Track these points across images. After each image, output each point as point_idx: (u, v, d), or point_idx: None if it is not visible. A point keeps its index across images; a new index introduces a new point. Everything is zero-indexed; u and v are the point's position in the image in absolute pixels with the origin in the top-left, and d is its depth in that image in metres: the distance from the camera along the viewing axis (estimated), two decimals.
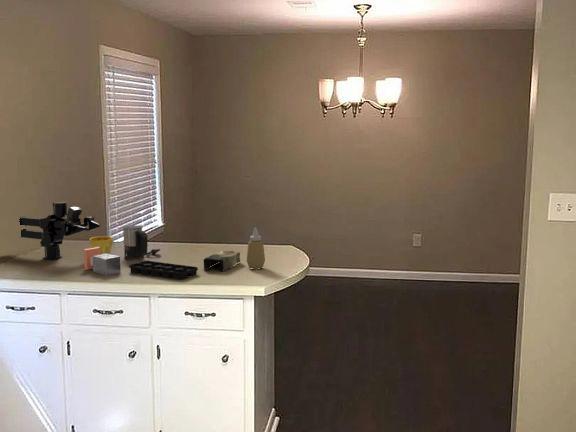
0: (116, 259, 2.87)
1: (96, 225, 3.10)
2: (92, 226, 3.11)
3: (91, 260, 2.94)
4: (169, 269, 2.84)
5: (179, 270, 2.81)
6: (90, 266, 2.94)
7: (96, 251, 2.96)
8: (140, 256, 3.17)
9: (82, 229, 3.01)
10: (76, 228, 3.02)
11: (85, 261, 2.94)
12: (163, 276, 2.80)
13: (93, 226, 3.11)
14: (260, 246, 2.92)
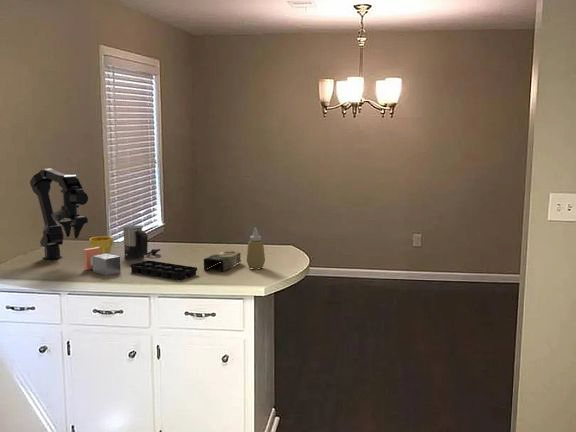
0: (116, 259, 2.87)
1: None
2: None
3: (91, 260, 2.94)
4: (169, 269, 2.84)
5: (178, 270, 2.81)
6: (90, 266, 2.94)
7: (96, 251, 2.96)
8: (140, 256, 3.17)
9: None
10: None
11: (85, 261, 2.94)
12: (162, 276, 2.80)
13: None
14: (260, 246, 2.92)
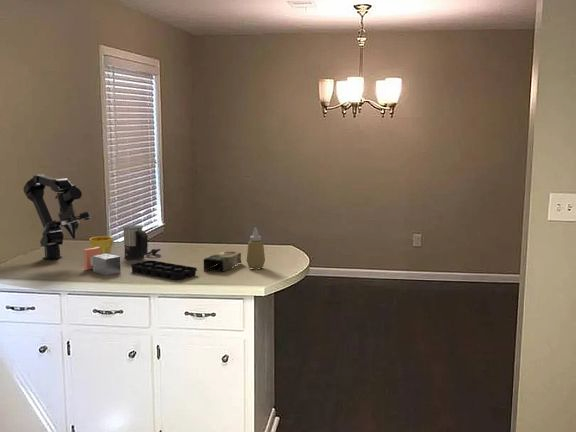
0: (116, 259, 2.87)
1: None
2: None
3: (91, 260, 2.94)
4: (168, 269, 2.84)
5: (177, 270, 2.81)
6: (90, 266, 2.94)
7: (96, 251, 2.96)
8: (140, 256, 3.17)
9: None
10: None
11: (85, 261, 2.94)
12: (161, 276, 2.80)
13: None
14: (260, 246, 2.92)
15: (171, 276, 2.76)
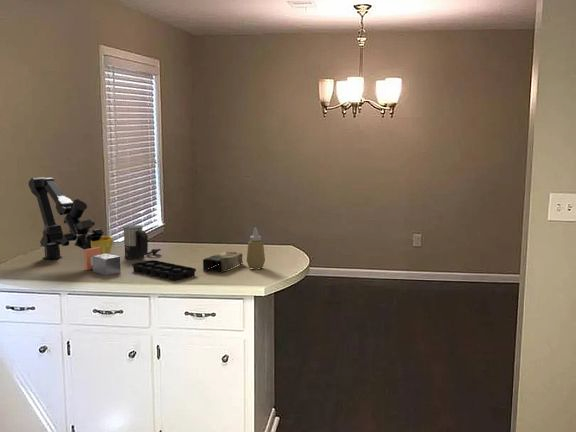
0: (116, 259, 2.87)
1: None
2: None
3: (91, 260, 2.94)
4: (168, 269, 2.84)
5: (176, 271, 2.80)
6: (90, 266, 2.94)
7: (96, 251, 2.96)
8: (140, 256, 3.17)
9: None
10: (83, 245, 2.97)
11: (85, 261, 2.93)
12: (160, 276, 2.80)
13: None
14: (260, 246, 2.92)
15: (169, 276, 2.76)
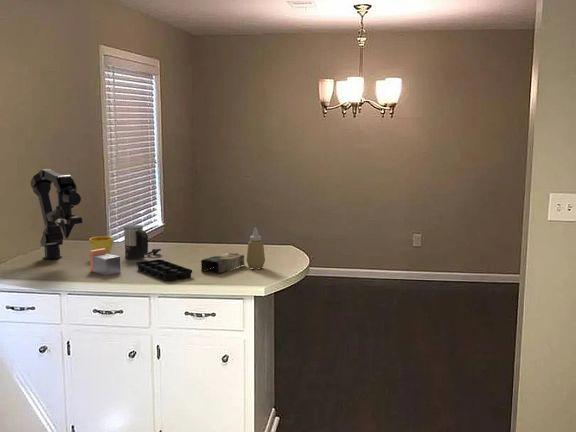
0: (116, 259, 2.87)
1: None
2: None
3: None
4: (166, 270, 2.83)
5: (172, 271, 2.79)
6: None
7: (102, 252, 2.93)
8: (141, 256, 3.17)
9: None
10: None
11: (91, 262, 2.91)
12: (156, 276, 2.80)
13: None
14: (260, 246, 2.92)
15: (163, 277, 2.75)
